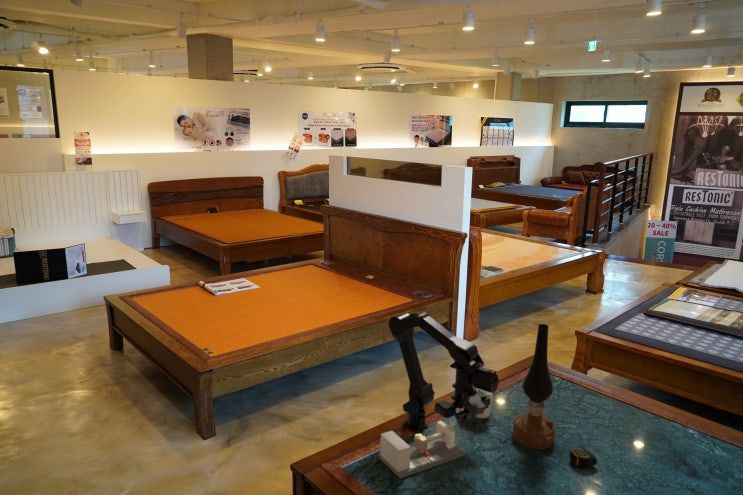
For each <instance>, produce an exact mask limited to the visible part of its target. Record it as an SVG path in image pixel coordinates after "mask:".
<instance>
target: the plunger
mask: <svg viewBox="0 0 743 495" xmlns="http://www.w3.org/2000/svg"><path fill="white" fill-rule="evenodd" d="M455 433H456V431H455V429H453V427H451V426H449V425H447V424H446V423H445V422H444V421H442V420H439V421H437V422H436V433H434V434H431V435H428V436H424V437H425V438H427V439H428V442H430V441H433V440H436V439H441V440H442V441H443V442H445V443H446V444H447V445H448V446H450V447H451V446H454V444H455V437H456V434H455Z"/></svg>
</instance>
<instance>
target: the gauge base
mask: <svg viewBox="0 0 743 495" xmlns="http://www.w3.org/2000/svg"><path fill="white" fill-rule="evenodd" d="M379 448H380V449H379V450H380V452H378V456H377V457H378V459H379V460H380V461H381V462H382V463H384V465H385V466H386V467H387V468H389V470H390V471H392V473H394V475H396V476H397V478H399V479H404V478H406V477H409V476H411V475H414V474H417V473H420V472H423V471H425V470H429V469H431V468H435V467H436V466H440V465H442V464H444V463H448V462H450V461H453V460H456V459H458V458H462V457H464V456H465V450H464V449H462V448H461V447H459V445H457V444H456V443H454V446H451V447H450V446H448V445H447V444H446V443H445V442H443V441H442V440H441V439H436V440H433V441H430V442H428V444H427V451H426V452H427V453H429V454H430V455H431V457H428V456H427V455H426V454H425V453H424V452H423V453H421V452H420V451H419V450H418V449H417V448H415V447H414V441H411V442H408V443H407V442H406V441H404V439H402V438H401V437H400V436H399V435H398V434H396V433H395V432H394V431H393V430H389V431H385V432H383V433H381V434H380V446H379Z"/></svg>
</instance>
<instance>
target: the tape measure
mask: <svg viewBox="0 0 743 495" xmlns="http://www.w3.org/2000/svg"><path fill="white" fill-rule="evenodd" d="M569 460H570V462H571V463H572V464H574V465H575V466H576V467H580V468H585V469H586V468H590V467H592V466H596V465H597V463H598V459H597V457H596V456H595V455H594V454H593V453H591V452H590V451H588V450H587V449H586V448H584V447H583V446H580V447H574V448H572V449H571V450H570V452H569Z"/></svg>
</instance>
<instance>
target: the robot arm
mask: <svg viewBox="0 0 743 495" xmlns="http://www.w3.org/2000/svg"><path fill="white" fill-rule="evenodd" d="M387 324H388V328H389V331H390V333H391V335H392V337H393V338H394V340H396V341H397V343H398V345H399V349H400V352H401V356H402V359H403V362H404V363H403V364H404V366H405V369H406V374H407V377H408V382H409V388H408V393H407V394H408V399H409V400H408V401H407V402H405V403H404V404H402V410H403V412H405V413H406V420H404V421H402V424H403V423H404V424H403V425H404V426H406V427H407V429H409V430H411V431H412V432H417V431H420V430H423V429H425V428H429V424H427V423H426V410H425V409H426V408H427V407H429V405H430V404H431V403H433V401H434V399H435V396H434V395H435V394H436V393H435V391H434V389H433V388H434V387H433V384H432V382H427V380H425V378H424V375H423V370H422V367H421V363H420V360H419V357H418V354H417V349H416V346H415V342H414V338H413V337H414V332H415V328H417V327H418V328H419V329H421V330H422V331H424V333H426V334H427V335H428V336H430V337H431V338H432V339H434V340H435V341H436V342H437V343H438V344H440V345H441V346H442V347H444V348H445V350H446V351H447V352H448V353H449V356H450V357H451V358H452V360H454V361H453V362H452V363H451V364H450V365H449V368H451V369H454V370H455V377H454V378H455V380H454V383H451V384H452V385H451V386H452V388H454V394H452V395H451V400H453V402H449V401H447V400H446V399H444V400H440V401H437V402H436V403H434V408H433V409H434V412H436V413H437V414H438V415H440V416H442V417H443V418H445V419H449V418H452V417H455V420H456V423H457V424H458V427H459V428H460V429H464V427H465V425H466V423H467V422H468V419H469V416H470V415H471V416H472V417H475V416H476V415H478V414H483V412H484V410H485V409H487V408H489V405H490V397H489V396H488V395H487V394H485V393H483V392H482V391H480V390H479V391H476V388H478V389H481V390H484V391H487V392H490V393H496V392H497V390H498V387H499V382H500V379H499V375H498V374H497V371H496V370H495V369H489V368H486V367H484V366H485V362H484V361H483V359H482V357H481V355H480V354H479V351H478V347H477V345H475V344H474V343H472V342H470V341H469V340H467V339H463V338H461V337H458V336H455V334H453V333H452V332H451V331H449V330H448V329H447V328H446V327H444V326H443V325H441V324H440V323H439V322H438V321H436V320H435V319H433V318H432V316H430V315H429V314H428V313H427V312H424V311H422V312H413V313H408V312H405V311H404V312H400V313H398V314H397V315H394V316H392V317H390V318H389V321H388V323H387ZM472 362H474V363H472ZM471 363H472V364H471ZM473 386H474V387H473Z"/></svg>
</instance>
